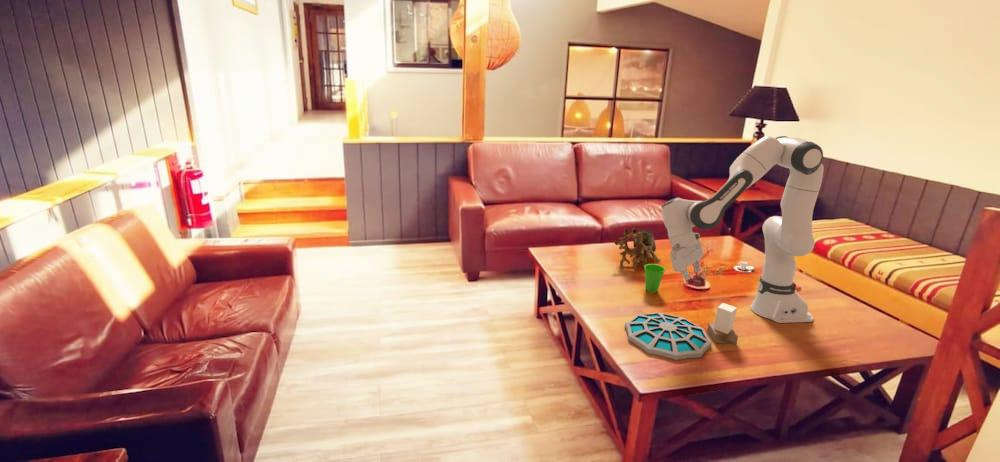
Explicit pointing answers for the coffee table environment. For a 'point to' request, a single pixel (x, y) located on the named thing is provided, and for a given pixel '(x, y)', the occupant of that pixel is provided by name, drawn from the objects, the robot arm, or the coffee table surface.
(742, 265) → the teacup and saucer
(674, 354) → the decorative platform
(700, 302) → the coffee table surface
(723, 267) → the coffee table surface
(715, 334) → the walnut base block
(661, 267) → the cup
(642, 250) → the decorative coral sculpture
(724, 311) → the cream pillar block
